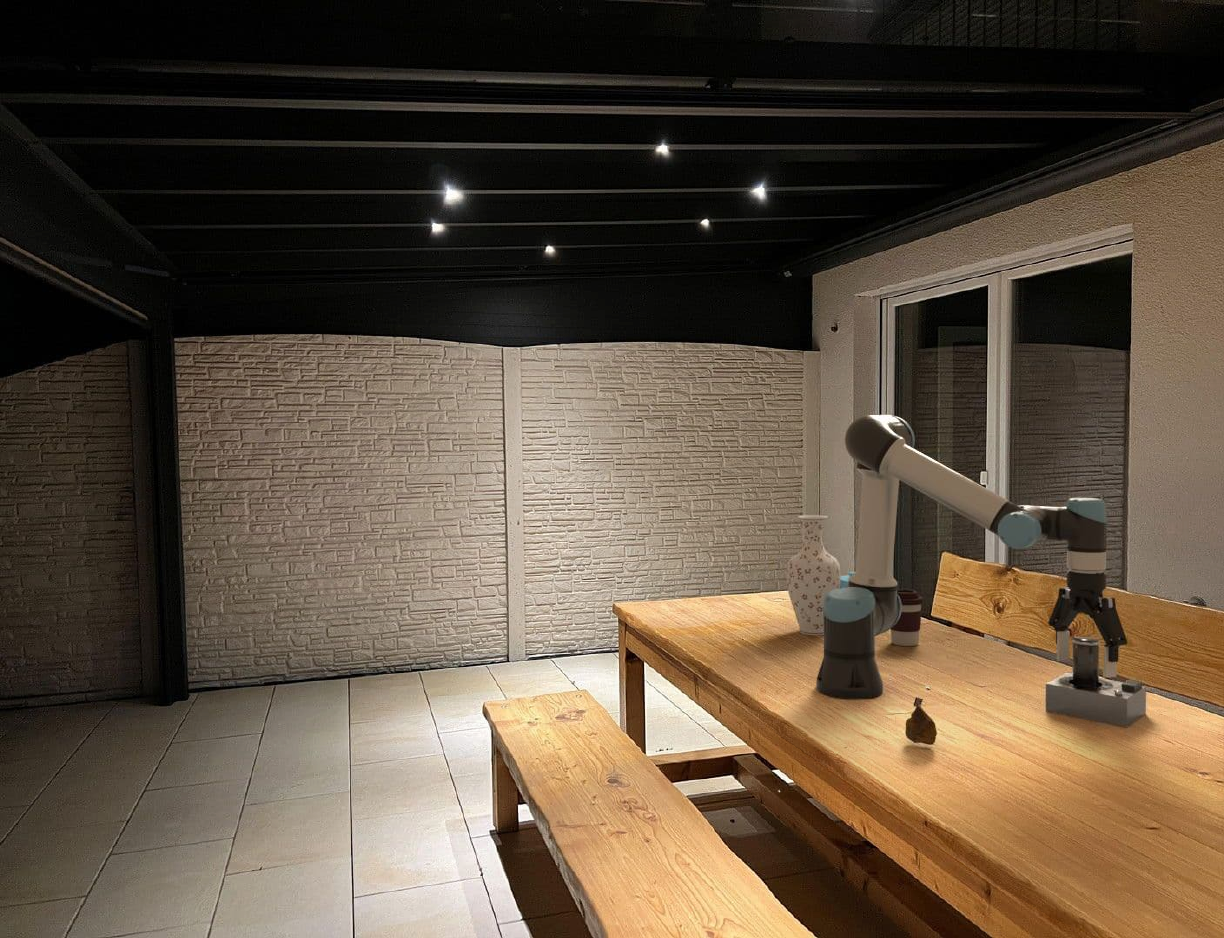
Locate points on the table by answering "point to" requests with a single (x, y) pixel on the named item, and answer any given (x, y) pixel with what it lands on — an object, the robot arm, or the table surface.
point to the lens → (1086, 661)
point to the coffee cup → (908, 619)
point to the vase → (811, 577)
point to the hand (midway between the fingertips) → (1085, 668)
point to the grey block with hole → (1097, 700)
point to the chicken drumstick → (920, 726)
